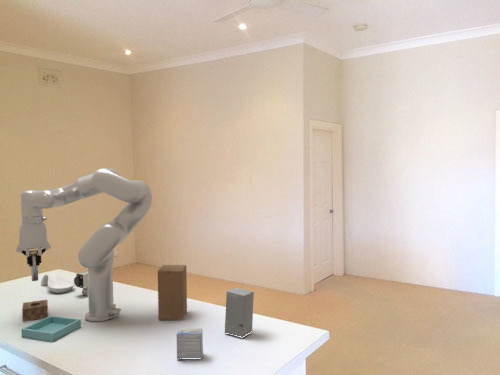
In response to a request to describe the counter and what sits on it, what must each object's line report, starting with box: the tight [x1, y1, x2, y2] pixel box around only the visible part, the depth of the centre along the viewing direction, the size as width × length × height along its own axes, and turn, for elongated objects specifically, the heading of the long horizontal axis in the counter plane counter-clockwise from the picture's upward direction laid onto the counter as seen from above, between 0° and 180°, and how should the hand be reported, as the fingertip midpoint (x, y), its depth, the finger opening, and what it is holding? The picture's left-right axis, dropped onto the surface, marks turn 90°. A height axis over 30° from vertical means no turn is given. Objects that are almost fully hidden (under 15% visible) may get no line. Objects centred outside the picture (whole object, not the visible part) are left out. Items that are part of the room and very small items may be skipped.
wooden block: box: [157, 264, 188, 321], centre depth 167 cm, size 10×10×20 cm
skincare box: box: [224, 287, 255, 337], centre depth 148 cm, size 8×7×16 cm
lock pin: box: [29, 249, 39, 282], centre depth 167 cm, size 4×4×12 cm
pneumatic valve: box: [73, 269, 88, 297], centre depth 196 cm, size 6×12×12 cm, turn 144°
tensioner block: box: [21, 299, 49, 323], centre depth 168 cm, size 9×9×5 cm
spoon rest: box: [40, 272, 75, 294], centre depth 205 cm, size 24×12×7 cm, turn 52°
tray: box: [20, 315, 82, 343], centre depth 151 cm, size 14×14×3 cm
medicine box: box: [175, 327, 204, 360], centre depth 131 cm, size 8×4×9 cm, turn 92°
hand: (34, 265), depth 167 cm, fingers closed on lock pin, 2 cm apart
